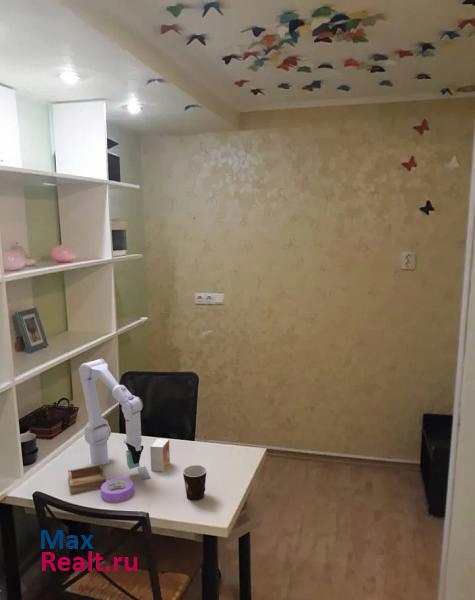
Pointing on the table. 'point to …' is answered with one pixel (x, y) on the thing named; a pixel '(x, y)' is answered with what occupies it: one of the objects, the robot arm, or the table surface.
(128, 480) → the masking tape
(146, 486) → the table surface
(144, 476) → the mat
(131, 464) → the block
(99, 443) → the robot arm
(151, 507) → the table surface
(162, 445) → the small box
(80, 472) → the wooden tray
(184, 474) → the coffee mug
